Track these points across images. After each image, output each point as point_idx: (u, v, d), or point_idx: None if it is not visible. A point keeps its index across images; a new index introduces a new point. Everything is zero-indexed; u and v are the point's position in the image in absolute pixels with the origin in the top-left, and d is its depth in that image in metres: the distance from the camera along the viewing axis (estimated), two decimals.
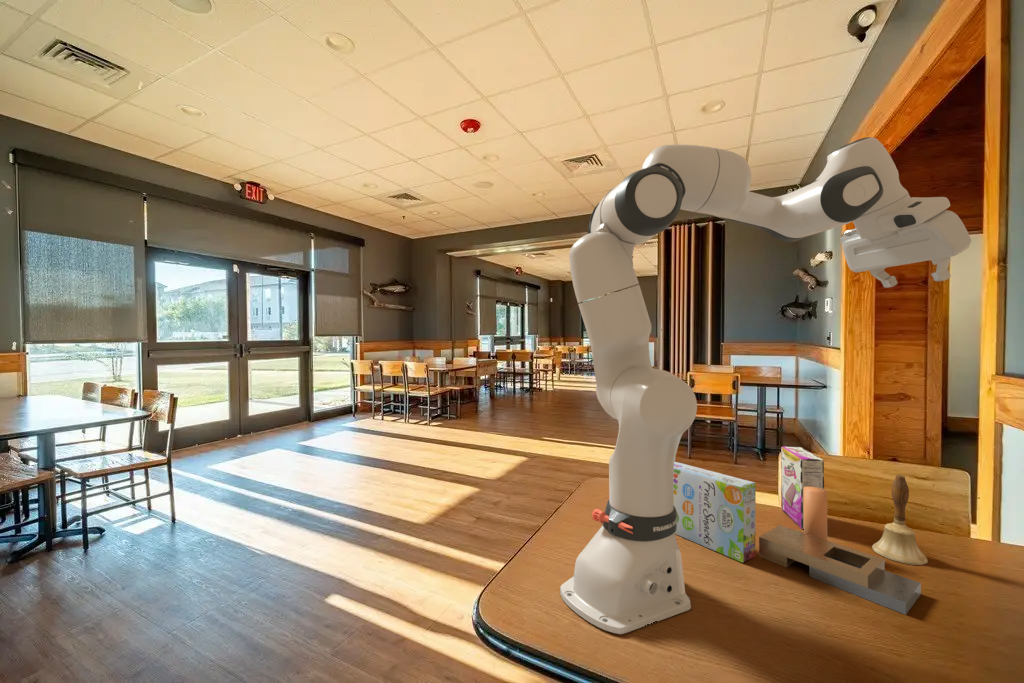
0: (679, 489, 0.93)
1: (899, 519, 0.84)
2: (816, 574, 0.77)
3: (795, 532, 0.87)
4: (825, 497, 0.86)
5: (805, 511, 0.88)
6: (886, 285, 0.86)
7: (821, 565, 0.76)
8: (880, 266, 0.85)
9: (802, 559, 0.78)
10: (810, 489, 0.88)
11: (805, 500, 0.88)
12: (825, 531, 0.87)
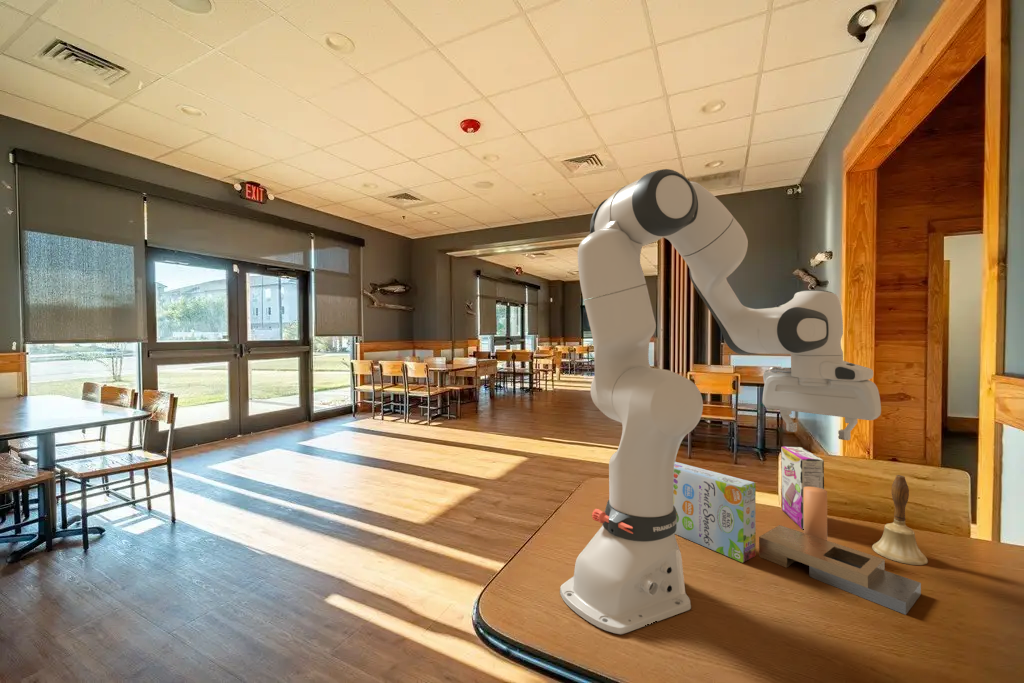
0: (679, 489, 0.93)
1: (899, 519, 0.84)
2: (816, 574, 0.77)
3: (795, 532, 0.87)
4: (825, 497, 0.86)
5: (805, 511, 0.88)
6: (789, 428, 0.91)
7: (821, 565, 0.76)
8: (795, 409, 0.90)
9: (802, 559, 0.78)
10: (810, 489, 0.88)
11: (805, 500, 0.88)
12: (825, 531, 0.87)
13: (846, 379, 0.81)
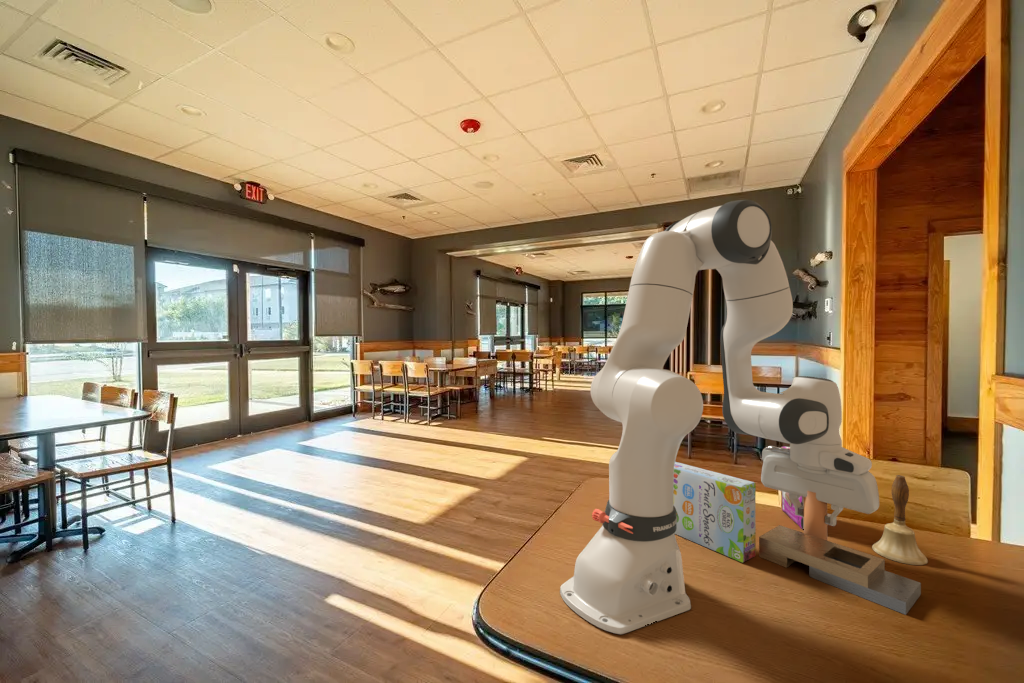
0: (679, 489, 0.93)
1: (899, 519, 0.84)
2: (816, 574, 0.77)
3: (795, 532, 0.87)
4: None
5: (805, 511, 0.88)
6: (798, 513, 0.90)
7: (821, 565, 0.76)
8: (793, 492, 0.90)
9: (802, 559, 0.78)
10: None
11: (805, 500, 0.88)
12: (825, 531, 0.87)
13: (845, 471, 0.81)
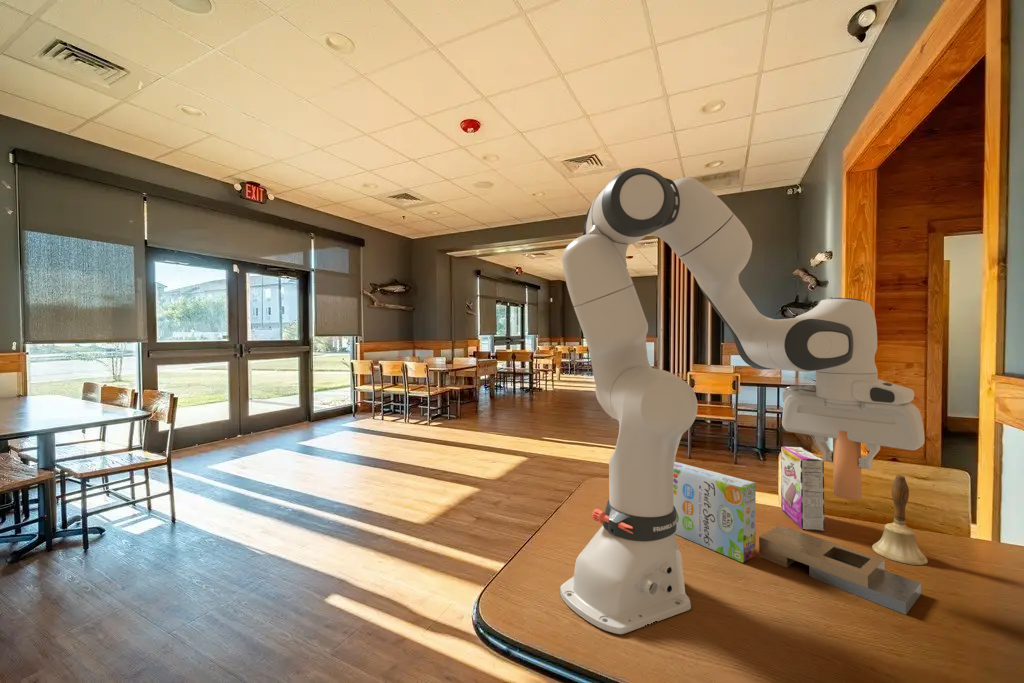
0: (679, 489, 0.93)
1: (899, 519, 0.84)
2: (816, 574, 0.77)
3: (795, 532, 0.87)
4: None
5: (835, 454, 0.77)
6: (826, 458, 0.78)
7: (821, 565, 0.76)
8: (821, 433, 0.78)
9: (802, 559, 0.78)
10: None
11: (835, 441, 0.77)
12: (859, 476, 0.75)
13: (884, 402, 0.70)
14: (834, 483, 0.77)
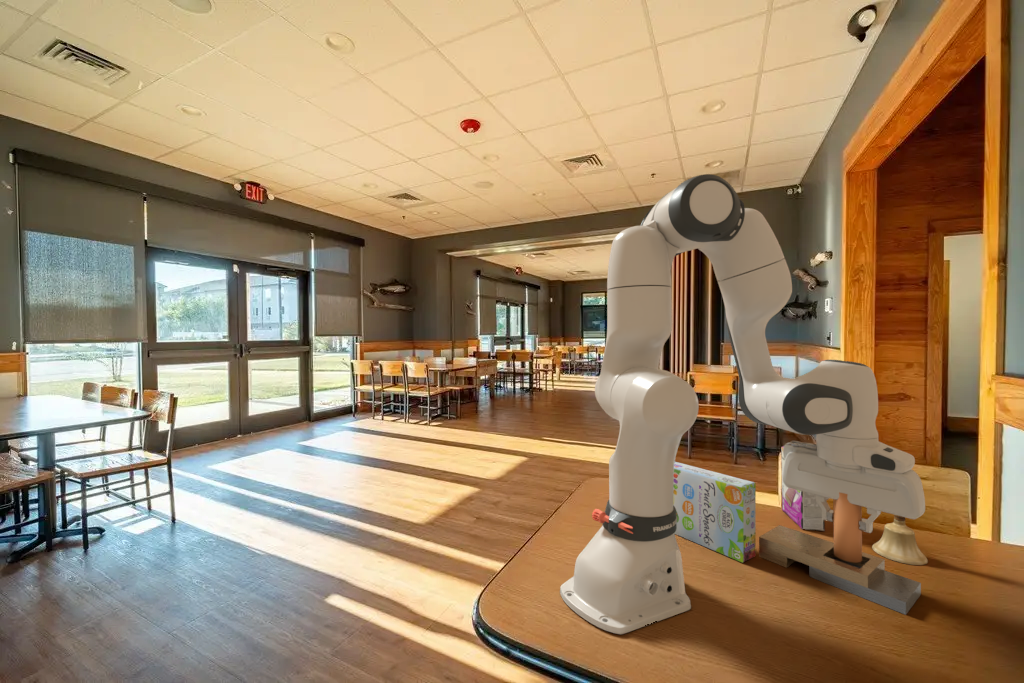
0: (679, 489, 0.93)
1: (899, 519, 0.84)
2: (816, 574, 0.77)
3: (795, 532, 0.87)
4: None
5: (836, 515, 0.77)
6: (827, 518, 0.78)
7: (821, 565, 0.76)
8: (821, 493, 0.78)
9: (802, 559, 0.78)
10: None
11: (835, 503, 0.77)
12: (860, 538, 0.75)
13: (884, 469, 0.70)
14: (834, 544, 0.77)
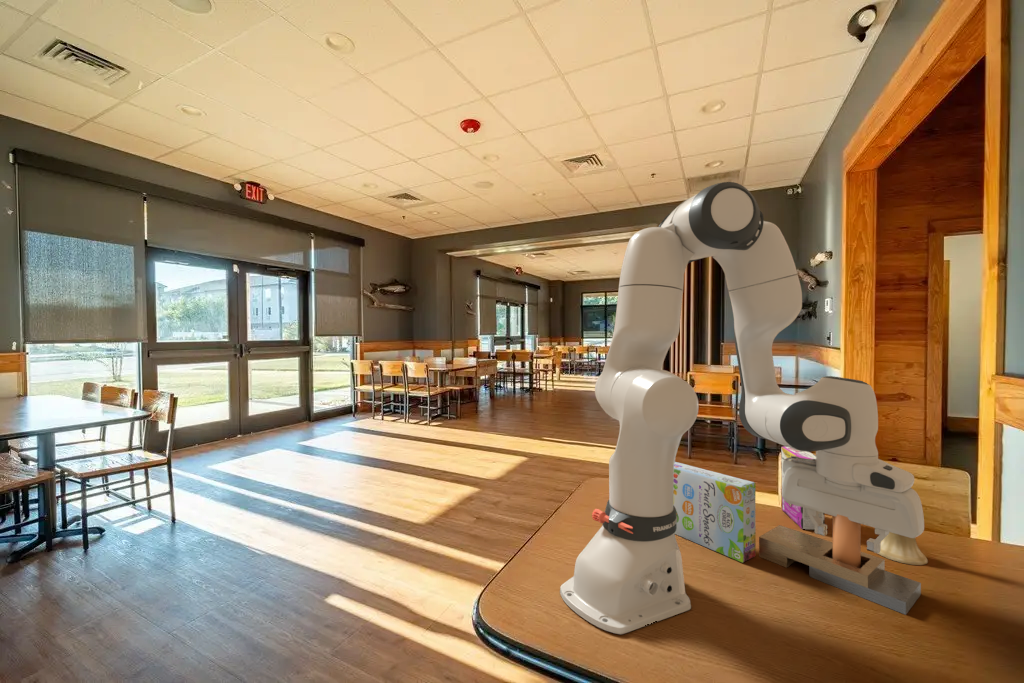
0: (679, 489, 0.93)
1: None
2: (816, 574, 0.77)
3: (795, 532, 0.87)
4: None
5: (834, 538, 0.77)
6: (818, 532, 0.79)
7: (821, 565, 0.76)
8: (821, 510, 0.78)
9: (802, 559, 0.78)
10: None
11: (834, 525, 0.77)
12: (858, 561, 0.75)
13: (884, 488, 0.70)
14: None
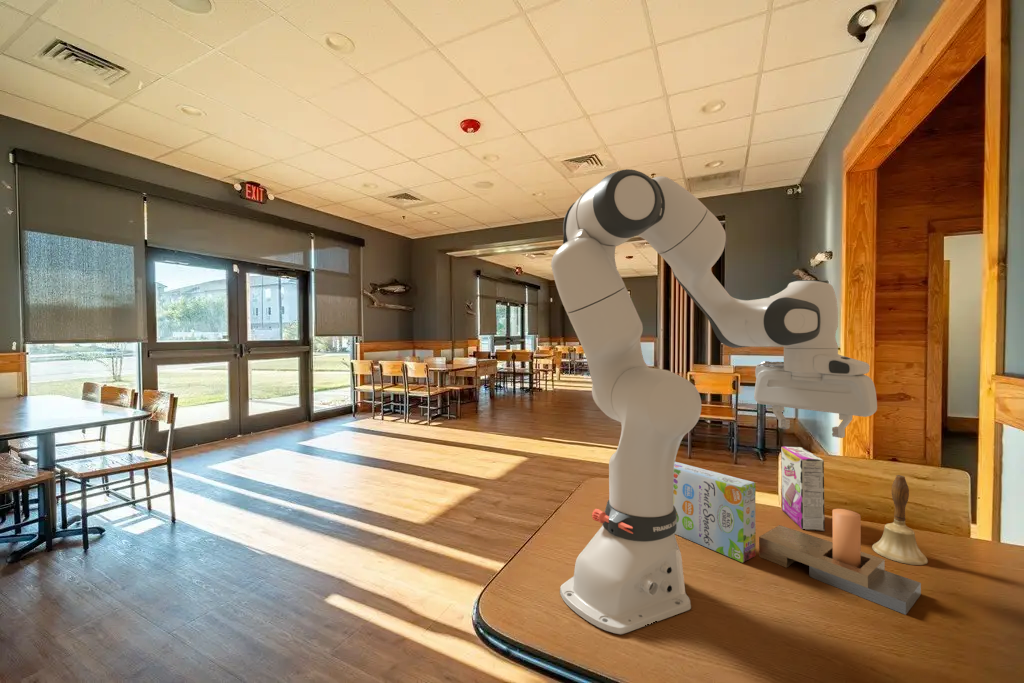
0: (679, 489, 0.93)
1: (899, 519, 0.84)
2: (816, 574, 0.77)
3: (795, 532, 0.87)
4: (858, 522, 0.75)
5: (835, 538, 0.77)
6: (781, 425, 0.87)
7: (821, 565, 0.76)
8: (787, 405, 0.86)
9: (802, 559, 0.78)
10: (841, 512, 0.77)
11: (835, 525, 0.77)
12: (858, 561, 0.75)
13: (840, 373, 0.77)
14: None
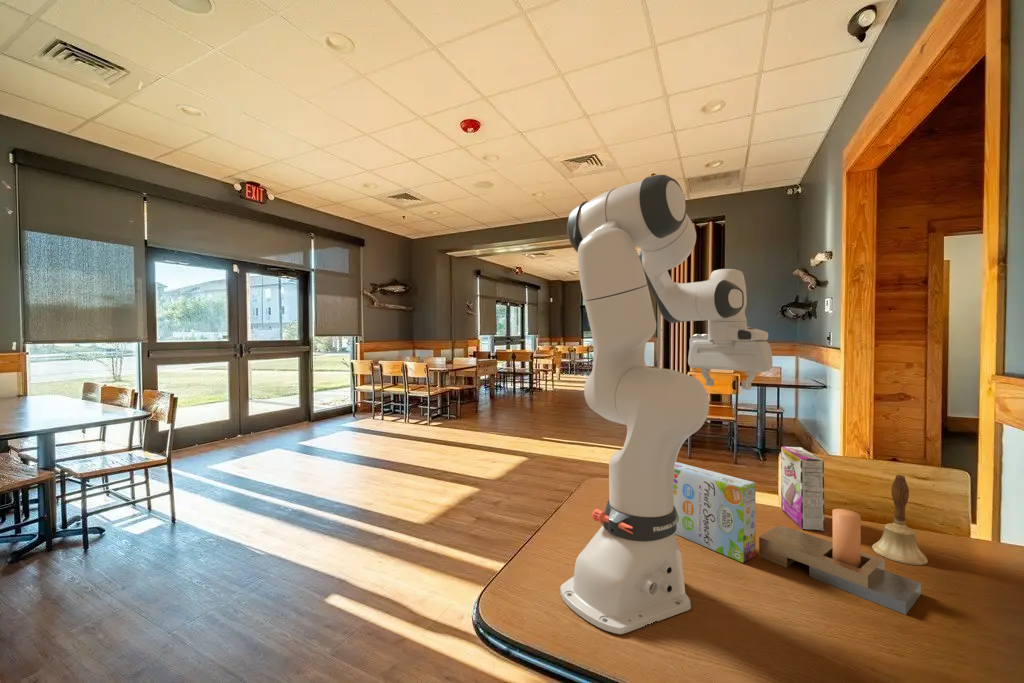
0: (679, 489, 0.93)
1: (899, 519, 0.84)
2: (816, 574, 0.77)
3: (795, 532, 0.87)
4: (858, 522, 0.75)
5: (835, 538, 0.77)
6: (707, 383, 1.12)
7: (821, 565, 0.76)
8: (711, 366, 1.10)
9: (802, 559, 0.78)
10: (841, 512, 0.77)
11: (835, 525, 0.77)
12: (858, 561, 0.75)
13: (745, 339, 1.01)
14: None
